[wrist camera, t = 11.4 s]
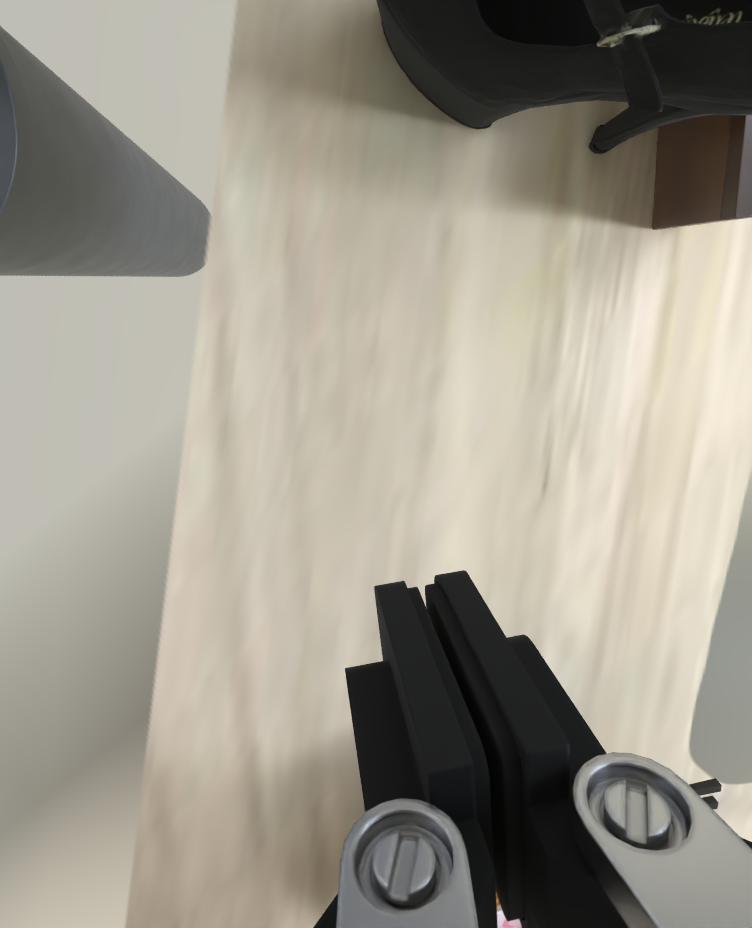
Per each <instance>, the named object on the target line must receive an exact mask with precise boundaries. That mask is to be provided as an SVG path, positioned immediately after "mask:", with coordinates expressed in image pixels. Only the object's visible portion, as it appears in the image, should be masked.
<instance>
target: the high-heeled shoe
mask: <svg viewBox="0 0 752 928" xmlns="http://www.w3.org/2000/svg"><path fill="white" fill-rule="evenodd" d="M377 4H378V8H379V11H380V15H381V19H382V26H383V30H384V34H385V37H386V39H387V42H388V45H389V47H390V49H391V51H392V54H393V56H394V57H395V59H396V61H397V62H398V64H399V66H400V68H401V69H402V70H403V72H404V73H405V74H406V76H407V77H408V78H409V80H410V81H411V82H412V84H413V85H414V86H415V87H416V88H417V89H418V90H419V91H420V92H421V93H422V94H423V95H424V96H425V97H426V98H427V99H428V100H429V101H431V102H432V103H433V104H434V105H435V106H436V107H438V108H439V109H440V110H441V111H442V112H444V113H445V114H447V115H448V116H450V117H451V118H452V119H454V120H456V121H457V122H459V123H461V124H463V125H466V126H468V127H471V128H475V129H483V128H488V127H490V126H491V125H492V123H493V122H495V121H496V120H498V119H500V118H503V117H505V116H508V115H511V114H513V113H516V112H519V111H522V110H525V109H528V108H534V107H543V106H550V105H557V104H564V103H571V102H581V101H593V100H607V101H620V102H628V104H629V108H628V109H626V110H624V111H623V112H621V113H620V114H618V115H617V116H616V117H614V118H613V119H611V120H610V121H608V122H607V123H606V124H604V125H600V126H599V127H598V128H597V129H596V131H595V133H594V136H593V138H592V140H591V143H590V145H589V148H590V149H591V150H592V151H593V152H594V153H598V154H602V153H605V152H607V151H609V150H610V149H612V148H613V147H615V146H616V145H618V144H620V143H622V142H624V141H626V140H628V139H630V138H632V137H634V136H636V135H638V134H641V133H643V132H645V131H648V130H651V129H654V128H657V127H659V126H662V125H666V124H669V123H673V122H676V121H681V120H685V119H690V118H694V117H701V116H707V115H715V114H716V115H752V0H377Z"/></svg>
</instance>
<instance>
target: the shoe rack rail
mask: <svg viewBox="0 0 752 928" xmlns="http://www.w3.org/2000/svg"><path fill="white" fill-rule="evenodd" d="M745 218H752V115H716V114H715V115H707V116H701V117H694V118H690V119H685V120H681V121H676V122H673V123H669V124H666V125H662V126H659V131H658V148H657V165H656V182H655V199H654V216H653V230H657V229H666V228H675V227H683V226H691V225H699V224H706V223H714V222H722V221H729V220H737V219H745Z"/></svg>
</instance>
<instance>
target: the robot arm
mask: <svg viewBox="0 0 752 928" xmlns="http://www.w3.org/2000/svg"><path fill="white" fill-rule="evenodd" d="M425 596H426V606H425V604H424V602H423V599H422V597H421V594H420V592H419V589H418V588H417V587H413V588H407V586H406V584H405V581H400V582H395V583H389V584H383V585H378V586H375V599H376V607H377V615H378V623H379V631H380V639H381V647H382V655H383V661H382V662H376V663H371V664H366V665H360V666H355V667H350V668H345V672H346V680H347V687H348V694H349V701H350V708H351V715H352V722H353V729H354V736H355V743H356V750H357V757H358V764H359V771H360V778H361V785H362V792H363V799H364V806H365V814H364V815H363V816H362V817H361V818H360V819H359V820H358V821H357V822H356V823H355V824H354V825H353V827H352V828H351V830H350V832H349V834H348V836H347V838H346V839H345V841H344V846H343V850H342V855H341V860H340V873H339V890H338V894H337V895H336V897H335V898H334V900H333V901H332V902H331V904H330V905H329V907H328V908H327V909H326V911H325V912H324V914H323V915H322V916H321V918H320V919H319V921H318V922H317V924H316V925H315V926H314V928H498V925H497V904H496V894H497V897H498V900H499V903H500V906H501V908H502V911H503V914H504V916H505V918H506V920H507V921H508V922H509V921H513V920H517V919H519V920H520V923H521V926H522V928H752V842H750V841H748V840H745V839H743V838H741V837H739V836H738V835H737V834H736V833H735V832H734V831H733V830H732V829H731V828H730V827H729V826H728V825H727V824H726V822H725V821H724V820H723V819H722V818H721V817H720V816H719V815H718V814H717V813H716V812H715V811H714V810H713V809H712V808H711V807H710V806H709V805H708V804H707V803H706V802H705V801H704V800H703V799H702V798H701V797H700V796H699V795H698V794H697V793H696V792H695V791H694V790H693V789H692V788H691V787H690V786H689V785H688V784H687V783H686V782H685V781H684V780H683V779H681V778H680V777H679V776H678V775H676V774H675V773H674V772H673V771H672V770H670V769H669V768H667V767H665V766H663V765H661V764H659V763H657V762H655V761H654V760H652V759H649V758H645V757H642V756H638V755H635V754H631V753H614V752H613V753H608V754H607V753H606V752H605V750H604V749H603V747H602V746H601V744H600V743H599V741H598V740H597V738H596V737H595V735H594V734H593V732H592V731H591V729H590V728H589V726H588V725H587V723H586V722H585V720H584V719H583V717H582V716H581V714H580V713H579V711H578V710H577V708H576V707H575V705H574V704H573V702H572V701H571V699H570V698H569V696H568V695H567V693H566V692H565V690H564V689H563V687H562V686H561V684H560V683H559V681H558V680H557V678H556V677H555V675H554V674H553V672H552V671H551V669H550V668H549V666H548V665H547V663H546V662H545V660H544V659H543V657H542V656H541V654H540V653H539V651H538V650H537V648H536V647H535V645H534V644H533V642H532V641H531V640H530V639H529V638H528V637H527V636H525V635H519V636H514V637H508V638H506V636H505V635H504V633H503V631H502V630H501V628H500V626H499V625H498V623H497V621H496V620H495V618H494V616H493V615H492V613H491V611H490V610H489V608H488V606H487V605H486V603H485V601H484V600H483V598H482V597H481V595H480V593H479V592H478V590H477V588H476V587H475V585H474V583H473V582H472V580H471V578H470V577H469V575H468V573H467V572H466V571H458V572H452V573H446V574H441V575H436V576H435V579H434V584H430V585H426V586H425ZM426 608H427V609H426Z"/></svg>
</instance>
